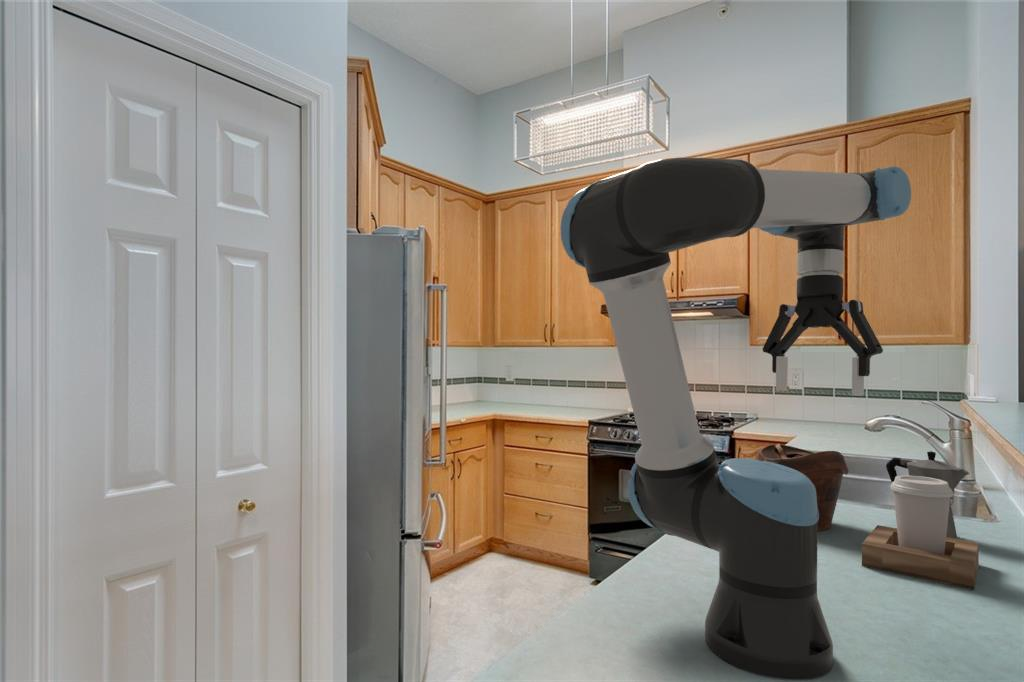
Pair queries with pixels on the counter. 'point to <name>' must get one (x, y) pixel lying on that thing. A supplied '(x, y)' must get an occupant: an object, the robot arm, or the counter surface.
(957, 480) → the coffeepot
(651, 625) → the counter surface
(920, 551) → the holder
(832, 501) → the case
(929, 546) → the coffee cup
